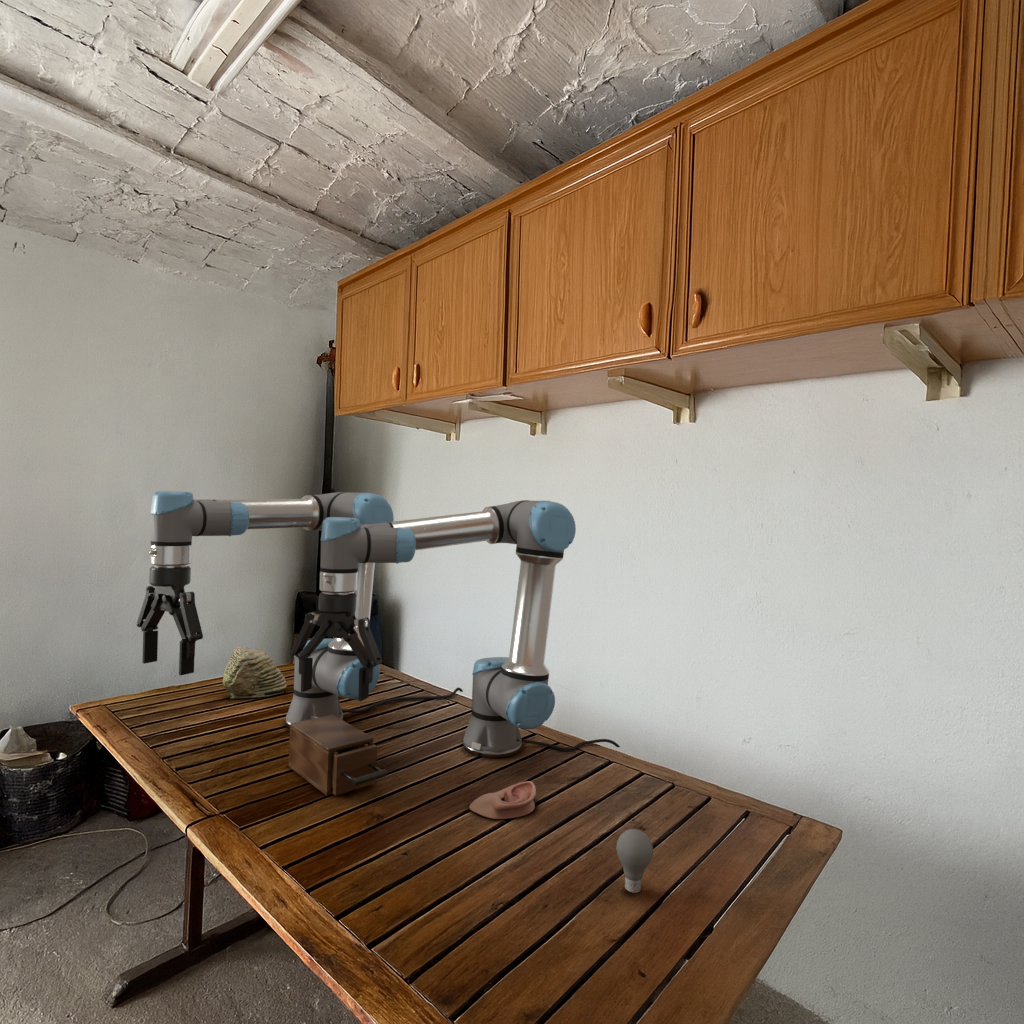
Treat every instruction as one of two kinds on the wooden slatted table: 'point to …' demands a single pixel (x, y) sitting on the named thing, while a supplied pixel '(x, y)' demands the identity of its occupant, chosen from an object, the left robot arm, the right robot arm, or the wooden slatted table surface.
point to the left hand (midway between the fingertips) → (167, 667)
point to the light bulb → (634, 857)
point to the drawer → (354, 768)
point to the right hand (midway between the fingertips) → (334, 694)
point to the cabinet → (321, 747)
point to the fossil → (252, 674)
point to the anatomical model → (506, 802)
